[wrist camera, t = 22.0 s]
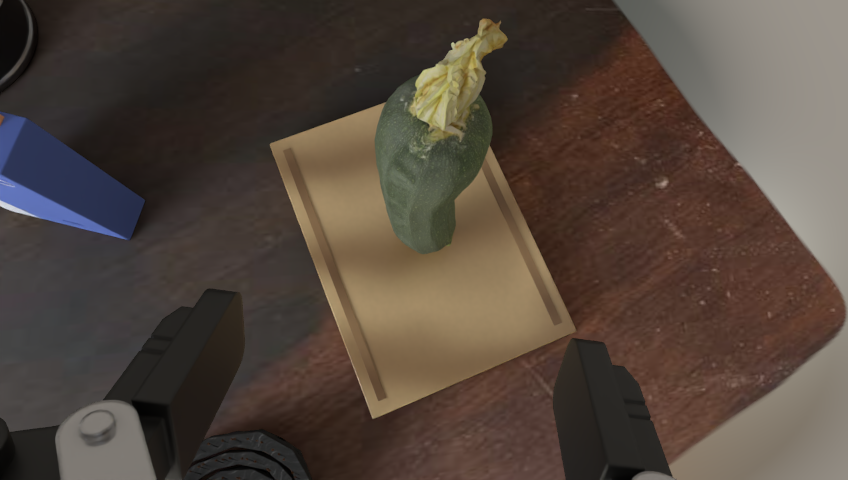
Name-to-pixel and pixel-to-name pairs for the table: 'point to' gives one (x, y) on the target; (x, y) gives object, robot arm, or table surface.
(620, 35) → the table surface
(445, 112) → the vegetable
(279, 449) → the hairbrush
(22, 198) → the walkman
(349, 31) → the table surface
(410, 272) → the cutting board
